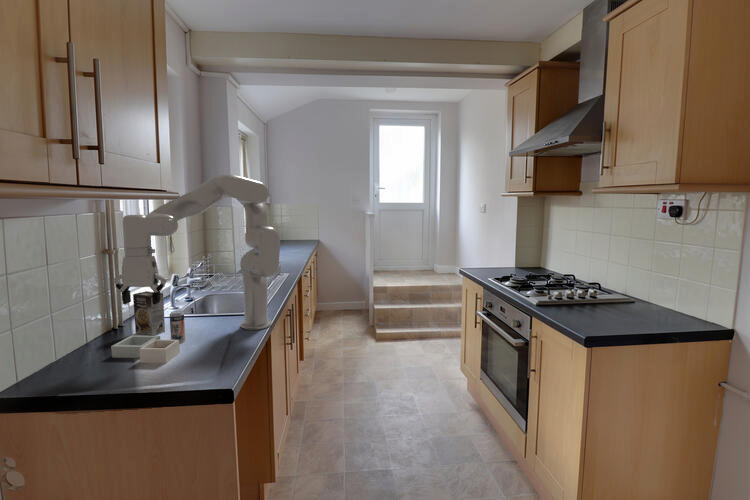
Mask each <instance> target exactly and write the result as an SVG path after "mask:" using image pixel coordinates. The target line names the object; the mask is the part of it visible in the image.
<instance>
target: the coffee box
mask: <svg viewBox="0 0 750 500" xmlns="http://www.w3.org/2000/svg"><path fill="white" fill-rule="evenodd" d="M153 292H154V291H147V290H146V291H141V292H136V293H134V294H132V299H133V301H132V302H133V313H134V315H133V316H134V329H135V330H134V331H135V335H140V336H159V335H161V334H163V333H165V332H166V324H165V303H164V302H165V301H164V293H163V292H160V302H159V303H157V304H153V300H152V293H153Z"/></svg>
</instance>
